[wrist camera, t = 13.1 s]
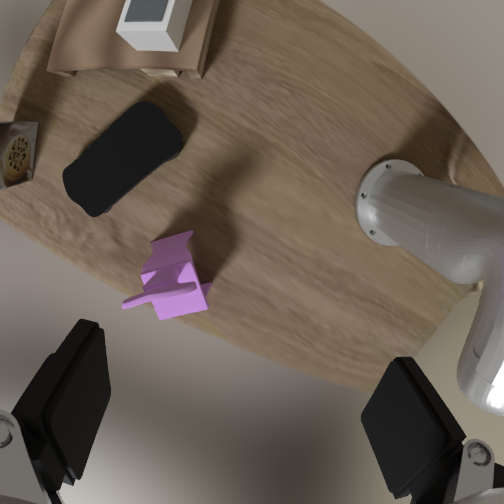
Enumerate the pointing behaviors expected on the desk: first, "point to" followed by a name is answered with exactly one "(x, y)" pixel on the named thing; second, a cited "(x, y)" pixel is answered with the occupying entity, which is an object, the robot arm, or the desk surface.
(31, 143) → the coffee box
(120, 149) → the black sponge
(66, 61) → the light wooden platform
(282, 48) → the desk surface
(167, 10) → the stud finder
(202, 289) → the toy chair
